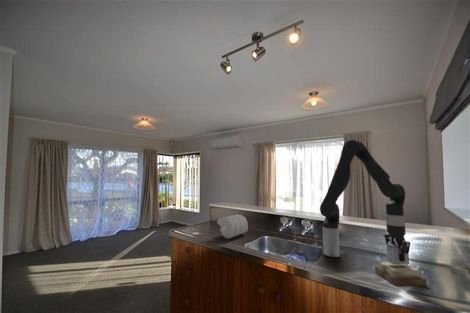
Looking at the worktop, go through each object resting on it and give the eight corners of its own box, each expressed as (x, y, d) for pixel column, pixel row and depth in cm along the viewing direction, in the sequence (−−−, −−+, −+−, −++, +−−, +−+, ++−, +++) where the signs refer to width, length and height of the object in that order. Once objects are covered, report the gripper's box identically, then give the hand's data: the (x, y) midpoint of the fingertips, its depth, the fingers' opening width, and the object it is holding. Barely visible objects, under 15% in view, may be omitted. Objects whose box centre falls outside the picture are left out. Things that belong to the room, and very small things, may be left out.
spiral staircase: (245, 238, 181) (227, 244, 161) (231, 227, 191) (212, 231, 172) (254, 220, 178) (236, 224, 158) (239, 209, 189) (220, 211, 169)
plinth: (375, 272, 109) (374, 260, 110) (401, 272, 110) (400, 260, 110) (396, 286, 95) (395, 272, 96) (426, 286, 96) (425, 272, 96)
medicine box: (402, 261, 106) (400, 243, 106) (409, 264, 101) (408, 246, 102) (386, 261, 105) (385, 243, 106) (393, 265, 101) (392, 246, 102)
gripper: (415, 227, 98) (418, 265, 96) (391, 220, 112) (393, 253, 111) (399, 227, 98) (402, 265, 96) (378, 220, 112) (380, 253, 110)
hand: (397, 259), depth 103 cm, fingers closed on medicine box, 4 cm apart
